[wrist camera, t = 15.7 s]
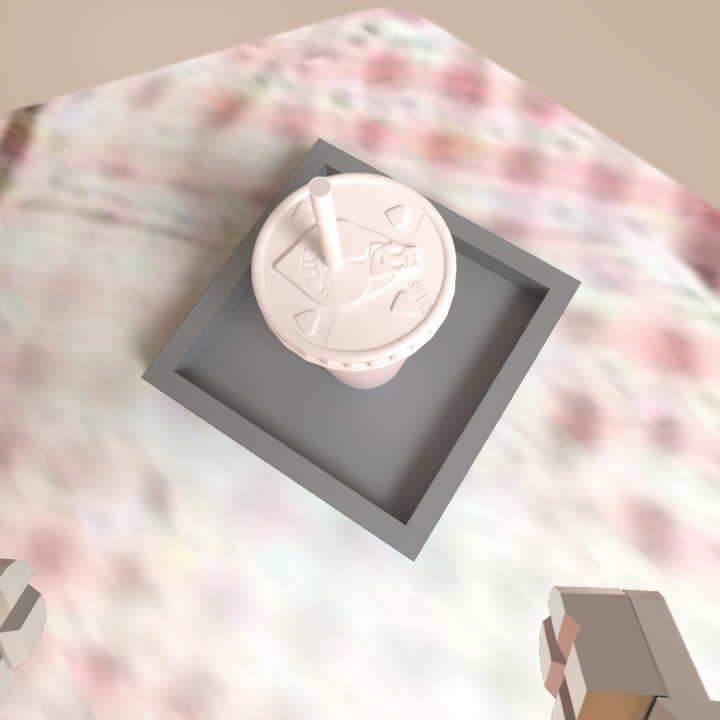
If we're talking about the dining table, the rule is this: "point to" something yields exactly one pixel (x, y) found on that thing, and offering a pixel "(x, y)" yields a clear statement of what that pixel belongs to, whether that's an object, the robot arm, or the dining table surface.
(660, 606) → the robot arm
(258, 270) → the smoothie
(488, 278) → the tray
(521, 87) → the dining table surface
